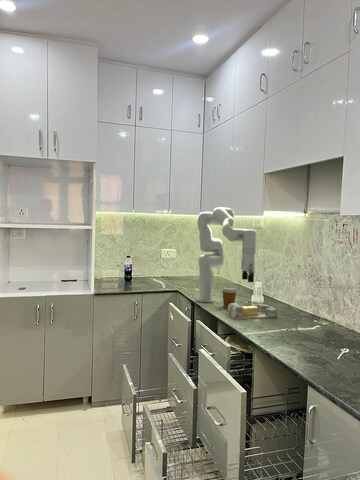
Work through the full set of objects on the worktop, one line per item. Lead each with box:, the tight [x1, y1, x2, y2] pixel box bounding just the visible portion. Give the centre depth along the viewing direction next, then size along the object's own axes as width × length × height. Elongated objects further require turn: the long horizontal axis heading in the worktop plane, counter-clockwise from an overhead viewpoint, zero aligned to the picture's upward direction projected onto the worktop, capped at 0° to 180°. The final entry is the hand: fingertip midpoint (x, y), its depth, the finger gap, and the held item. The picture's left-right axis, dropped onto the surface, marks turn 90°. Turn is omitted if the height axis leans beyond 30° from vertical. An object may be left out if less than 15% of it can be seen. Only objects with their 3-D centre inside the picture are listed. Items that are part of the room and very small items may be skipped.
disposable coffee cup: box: [221, 286, 238, 309], centre depth 234 cm, size 10×10×12 cm
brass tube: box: [241, 305, 258, 315], centre depth 215 cm, size 4×15×4 cm, turn 109°
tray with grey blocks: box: [225, 302, 278, 321], centre depth 216 cm, size 14×26×7 cm, turn 109°
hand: (247, 280), depth 212 cm, fingers open, 9 cm apart
